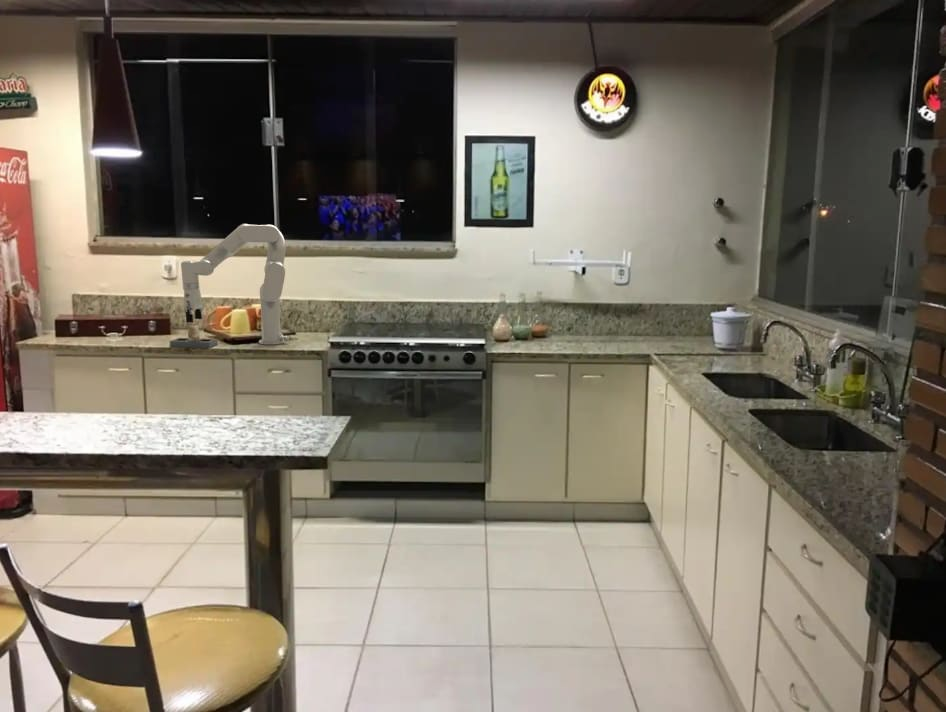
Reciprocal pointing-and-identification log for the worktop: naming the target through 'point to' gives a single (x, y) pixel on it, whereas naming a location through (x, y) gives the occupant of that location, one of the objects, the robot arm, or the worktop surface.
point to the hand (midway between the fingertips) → (194, 320)
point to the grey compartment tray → (193, 343)
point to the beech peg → (193, 333)
